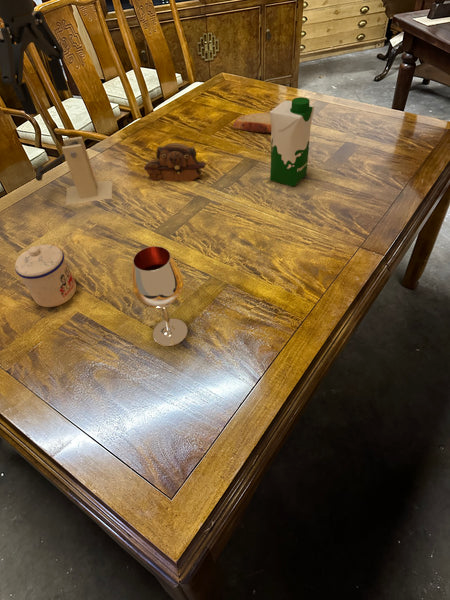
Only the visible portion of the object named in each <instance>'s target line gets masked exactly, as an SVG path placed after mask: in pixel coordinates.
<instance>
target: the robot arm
mask: <svg viewBox="0 0 450 600" xmlns="http://www.w3.org/2000/svg"><path fill="white" fill-rule="evenodd" d="M0 19H1V20H2V23H3V27H0V75H1V82H2V84H4V85H11V86H12V88H13V90H14V93H15V95H16V98H17V99H18V101H19V102H20V104H21V107H22V109H23V113H24V114H25V115H31V116H32V115H33V116H34V115H35V116H36V115H38V110H37V107H36V105H35V102H34V100H33V97H32V94H31V92H30V89H29V86H28V85H27V82H25V81H23V79H24V60H25V59H24V58H25V52H26V50H27V47H28V46H30V45H31V43H33V44H34V45H35V46H36V47H37V48H38V49H39V50H40V51H41V52H42V53H43V54H44V55H45V56H46V57H47V58H48V60H47V64H48V68H49V70H50V73H51V76H52V80H53V82H54V84H55V87H56V90H57V91H59V92H67V91H69V86H68V84H67V81H66V77H65V74H64V69H63V66H62V61H61V60H64V49H63V47H62V45H61V44H60V43H59V40H58V39H57V37H56V36H55V34H54V33H53V31H52V30H51V28H50V26H49V25H48V23H47V21H46V18H45V16H44V14H43V11H42V10H35V5H34V3H33V0H0Z"/></svg>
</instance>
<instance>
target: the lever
mask: <svg viewBox="0 0 450 600" xmlns="http://www.w3.org/2000/svg"><path fill="white" fill-rule="evenodd" d="M71 145H78V142H77V141H74V142H73V143H71V144H70V145H69V146H71ZM64 161H66V158H65V156H64V153H62V154H61V155H59V156H58V157H56V158H55V159H53V160H52V161H51V162H49V163H47V164H46V165H45V166H43V165H38V167H37V170H36V174H35V180H36V181H38V182H41V181H42V180H43V177H44V175H45V174H46V173H47V172H49V171H51V170H52V169H53V168H55V167H56V166H58V165H59V164H60V163H62V162H64Z"/></svg>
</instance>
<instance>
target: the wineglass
mask: <svg viewBox="0 0 450 600" xmlns="http://www.w3.org/2000/svg"><path fill="white" fill-rule="evenodd" d="M131 273H132V275H131V277H132V278H131V283H132V290H133V294H134V296H135V298H137V300H138V301H139V302H140V303H141V304H143V305H144V306H146V307H149V308H152V309H162V315H163V317H164V320H161V321H160V322H158V323H157V324H156V325H155V327H154V328H153V330H152V338H153V340H154V342H156V343H157V344H158V345H160V346H163V347H174V346H178V345H179V344H180V343H182V342H184V340H185V339H186V337H187V335H188V326H187V324H186V323H185V322H184V321H183V320H181V319H178V318H170V316H169V311H168V307H169V306H171V305H173V304H175V302H177V301H178V299H179V298H180V296H182V293H183V290H184V285H185V283H184V282H185V281H184V277H183V273H182V271H181V270H180V267H179V265H178V264H177V261H176V260H175V258H173V255H172V254H171V251H169V250H168V249H167V248H165V247H163V246H157V245H151V246H147V247H144V248H142V249H140V250H139V251H137V252H136V253H135V254H134V256H133V259H132V272H131Z"/></svg>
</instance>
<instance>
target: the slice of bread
mask: <svg viewBox="0 0 450 600" xmlns="http://www.w3.org/2000/svg"><path fill="white" fill-rule="evenodd" d="M232 126H233V127H232V128H233V129H234V130H239V131H244V132H249V133H251V132H253V133H261V134H271V118H270V111H266V112H256V113H255V112H254V113H249V114H245V115H242V116H241V115H240V116H239V117H237V118H236V119H235V120H234V121H233V125H232ZM257 131H258V132H257ZM265 132H266V133H265Z"/></svg>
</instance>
